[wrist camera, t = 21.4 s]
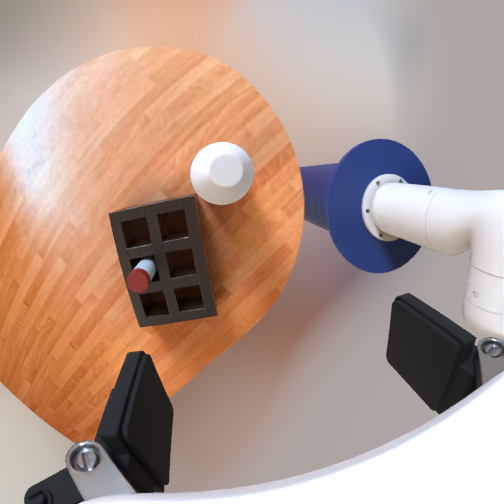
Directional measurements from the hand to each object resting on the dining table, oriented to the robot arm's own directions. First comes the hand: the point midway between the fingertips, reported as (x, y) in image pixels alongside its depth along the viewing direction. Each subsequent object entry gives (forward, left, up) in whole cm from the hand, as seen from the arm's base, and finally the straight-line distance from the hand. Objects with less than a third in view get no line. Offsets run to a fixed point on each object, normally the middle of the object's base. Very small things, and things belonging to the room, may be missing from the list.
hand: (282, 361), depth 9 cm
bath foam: (0, -7, -34) cm, 35 cm away
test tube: (+13, +4, -34) cm, 37 cm away
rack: (+10, +4, -34) cm, 36 cm away
